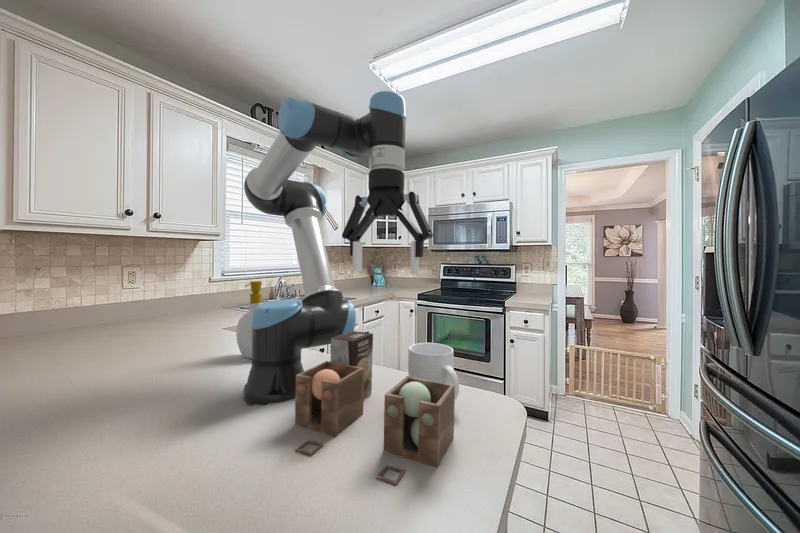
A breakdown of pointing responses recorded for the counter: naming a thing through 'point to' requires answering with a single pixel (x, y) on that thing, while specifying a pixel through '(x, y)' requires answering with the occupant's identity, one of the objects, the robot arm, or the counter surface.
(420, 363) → the mug
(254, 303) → the soap bottle
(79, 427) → the counter surface
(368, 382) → the coffee box
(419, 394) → the sage ball
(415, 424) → the sage ball
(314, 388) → the terracotta ball
